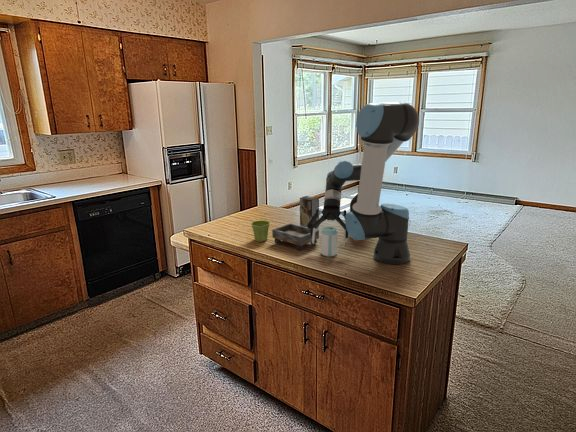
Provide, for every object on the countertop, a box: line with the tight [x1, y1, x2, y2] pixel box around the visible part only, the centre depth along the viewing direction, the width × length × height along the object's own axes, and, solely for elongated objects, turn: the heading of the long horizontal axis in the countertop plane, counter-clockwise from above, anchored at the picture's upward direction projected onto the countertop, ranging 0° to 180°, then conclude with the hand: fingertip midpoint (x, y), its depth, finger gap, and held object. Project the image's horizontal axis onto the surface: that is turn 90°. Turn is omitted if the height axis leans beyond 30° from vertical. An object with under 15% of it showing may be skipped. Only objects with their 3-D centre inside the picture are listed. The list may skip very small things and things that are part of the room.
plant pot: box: [250, 219, 271, 243], centre depth 185 cm, size 9×9×9 cm
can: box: [320, 226, 338, 258], centre depth 165 cm, size 7×7×12 cm
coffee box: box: [299, 195, 320, 229], centre depth 204 cm, size 9×6×16 cm
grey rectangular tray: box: [271, 222, 320, 252], centre depth 179 cm, size 18×13×7 cm
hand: (328, 243), depth 164 cm, fingers open, 13 cm apart
